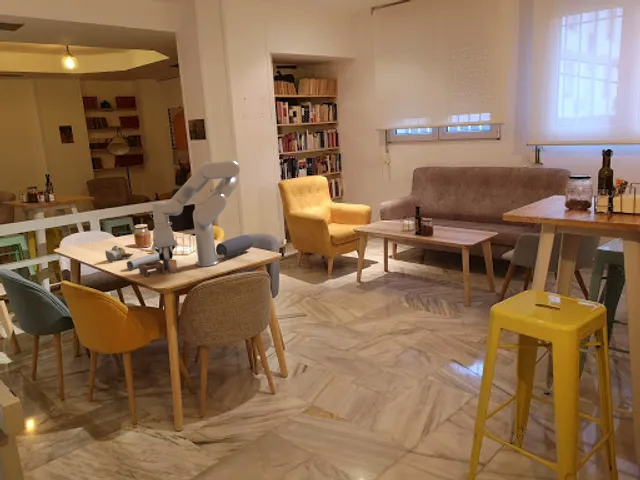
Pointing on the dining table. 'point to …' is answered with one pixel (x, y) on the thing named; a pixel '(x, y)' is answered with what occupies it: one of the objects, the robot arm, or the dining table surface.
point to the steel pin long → (166, 257)
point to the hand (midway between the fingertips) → (166, 259)
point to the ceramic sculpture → (116, 254)
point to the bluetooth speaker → (234, 246)
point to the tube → (142, 261)
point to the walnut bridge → (151, 267)
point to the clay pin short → (172, 266)
